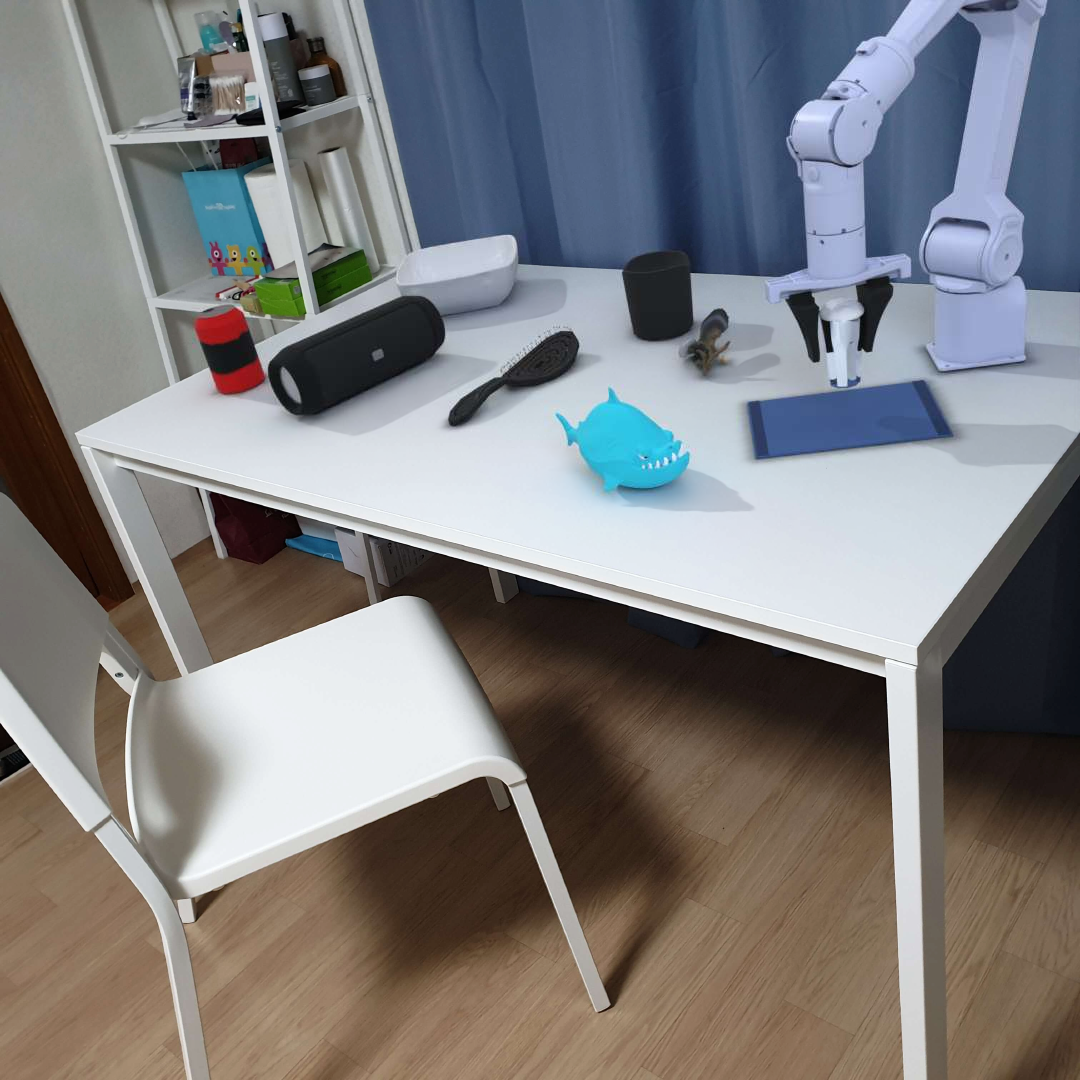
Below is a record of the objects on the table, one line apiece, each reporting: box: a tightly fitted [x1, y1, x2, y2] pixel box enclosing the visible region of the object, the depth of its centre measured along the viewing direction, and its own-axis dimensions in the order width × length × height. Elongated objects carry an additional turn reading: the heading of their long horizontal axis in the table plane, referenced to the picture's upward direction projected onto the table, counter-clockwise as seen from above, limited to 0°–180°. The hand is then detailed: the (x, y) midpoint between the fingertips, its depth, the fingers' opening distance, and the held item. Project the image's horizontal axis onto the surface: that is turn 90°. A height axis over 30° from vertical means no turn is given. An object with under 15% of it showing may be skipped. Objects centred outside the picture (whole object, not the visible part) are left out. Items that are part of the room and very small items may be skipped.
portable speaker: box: [267, 295, 446, 416], centre depth 150 cm, size 26×10×10 cm, turn 134°
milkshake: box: [818, 297, 864, 389], centre depth 110 cm, size 4×5×10 cm
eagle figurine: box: [677, 308, 731, 377], centre depth 134 cm, size 8×7×9 cm
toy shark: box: [555, 386, 691, 492], centre depth 110 cm, size 10×18×11 cm, turn 45°
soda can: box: [193, 304, 266, 395], centre depth 160 cm, size 8×8×12 cm
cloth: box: [746, 379, 954, 460], centre depth 115 cm, size 20×14×1 cm
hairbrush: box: [447, 325, 581, 427], centre depth 140 cm, size 8×4×25 cm
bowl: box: [395, 234, 519, 317], centre depth 177 cm, size 20×20×8 cm
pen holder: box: [621, 250, 694, 342], centre depth 147 cm, size 9×9×10 cm
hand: (840, 354), depth 111 cm, fingers closed on milkshake, 5 cm apart
